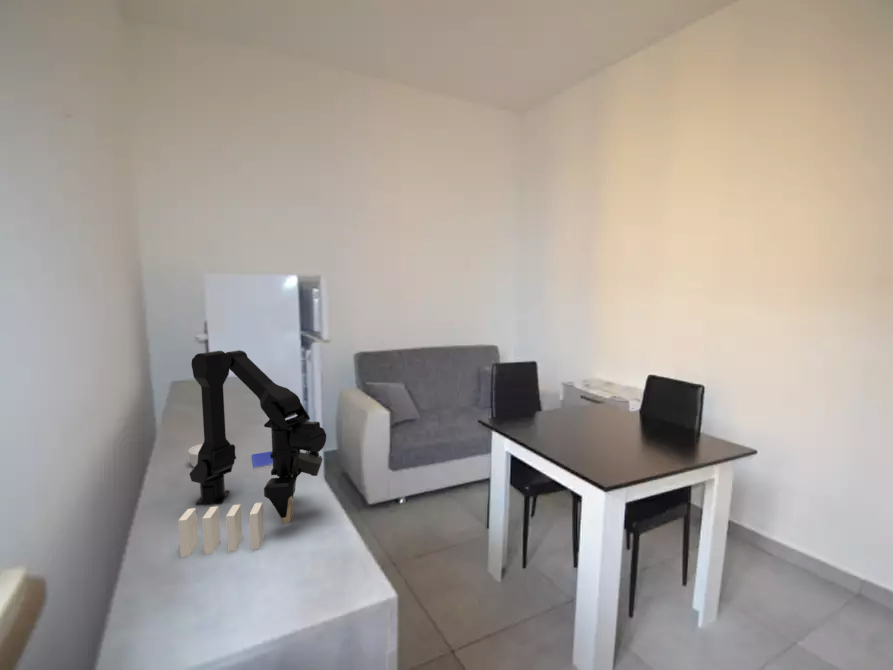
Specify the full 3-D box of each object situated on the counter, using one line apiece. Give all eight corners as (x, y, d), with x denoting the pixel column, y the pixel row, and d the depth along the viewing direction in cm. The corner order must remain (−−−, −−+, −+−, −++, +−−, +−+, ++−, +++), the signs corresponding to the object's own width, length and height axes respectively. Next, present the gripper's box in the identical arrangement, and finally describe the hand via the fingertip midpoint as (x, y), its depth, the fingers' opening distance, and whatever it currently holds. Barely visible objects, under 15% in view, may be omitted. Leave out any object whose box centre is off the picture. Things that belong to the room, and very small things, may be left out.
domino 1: (190, 543, 95) (187, 508, 95) (198, 542, 96) (195, 508, 95) (180, 557, 91) (178, 520, 90) (189, 556, 91) (186, 519, 90)
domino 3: (234, 539, 97) (233, 505, 96) (242, 538, 97) (240, 504, 97) (227, 552, 92) (225, 516, 91) (236, 551, 92) (234, 515, 92)
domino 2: (212, 541, 96) (210, 506, 95) (220, 540, 97) (218, 506, 96) (204, 554, 91) (202, 518, 91) (212, 553, 92) (210, 517, 91)
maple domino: (286, 513, 109) (285, 482, 108) (292, 512, 109) (291, 481, 108) (282, 523, 104) (281, 491, 103) (289, 522, 104) (288, 490, 103)
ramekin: (211, 471, 134) (210, 455, 134) (180, 468, 136) (179, 452, 136) (235, 458, 145) (234, 442, 145) (206, 455, 147) (205, 440, 147)
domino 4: (256, 537, 98) (255, 503, 97) (264, 536, 98) (262, 502, 97) (250, 549, 93) (249, 514, 92) (258, 549, 93) (257, 513, 93)
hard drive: (281, 462, 138) (277, 450, 149) (253, 467, 135) (251, 454, 146) (281, 467, 138) (277, 454, 149) (253, 472, 135) (251, 458, 146)
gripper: (314, 458, 97) (317, 524, 98) (323, 431, 115) (324, 488, 117) (262, 461, 95) (265, 529, 96) (279, 434, 113) (281, 491, 115)
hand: (287, 507), depth 106 cm, fingers open, 9 cm apart
